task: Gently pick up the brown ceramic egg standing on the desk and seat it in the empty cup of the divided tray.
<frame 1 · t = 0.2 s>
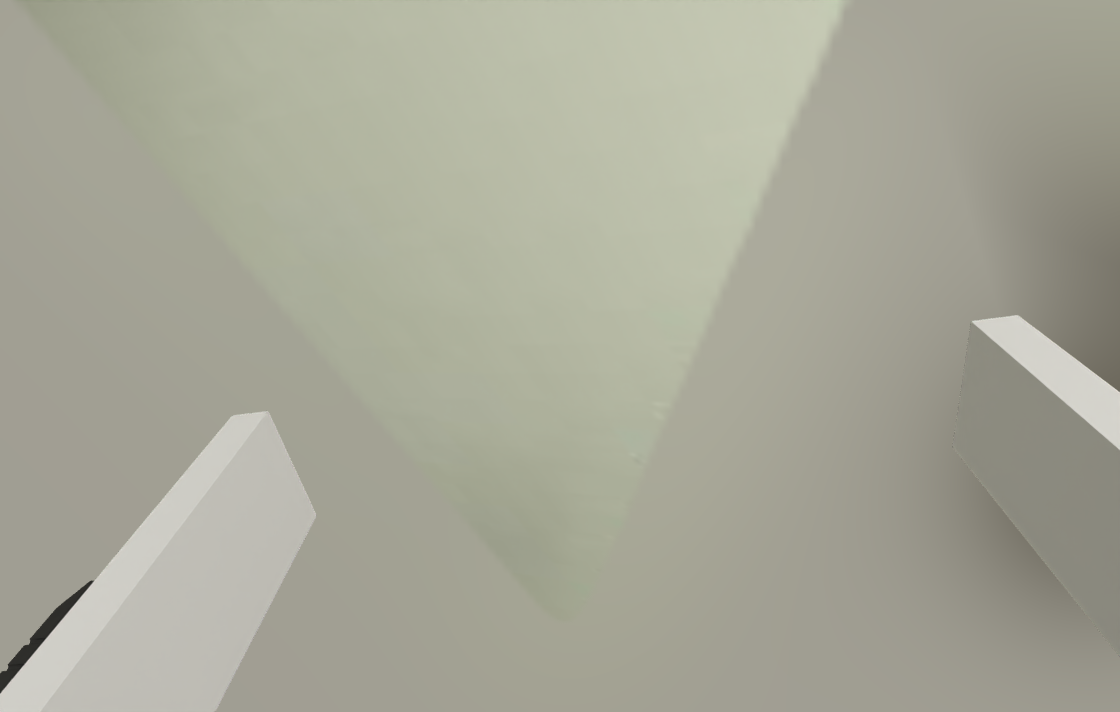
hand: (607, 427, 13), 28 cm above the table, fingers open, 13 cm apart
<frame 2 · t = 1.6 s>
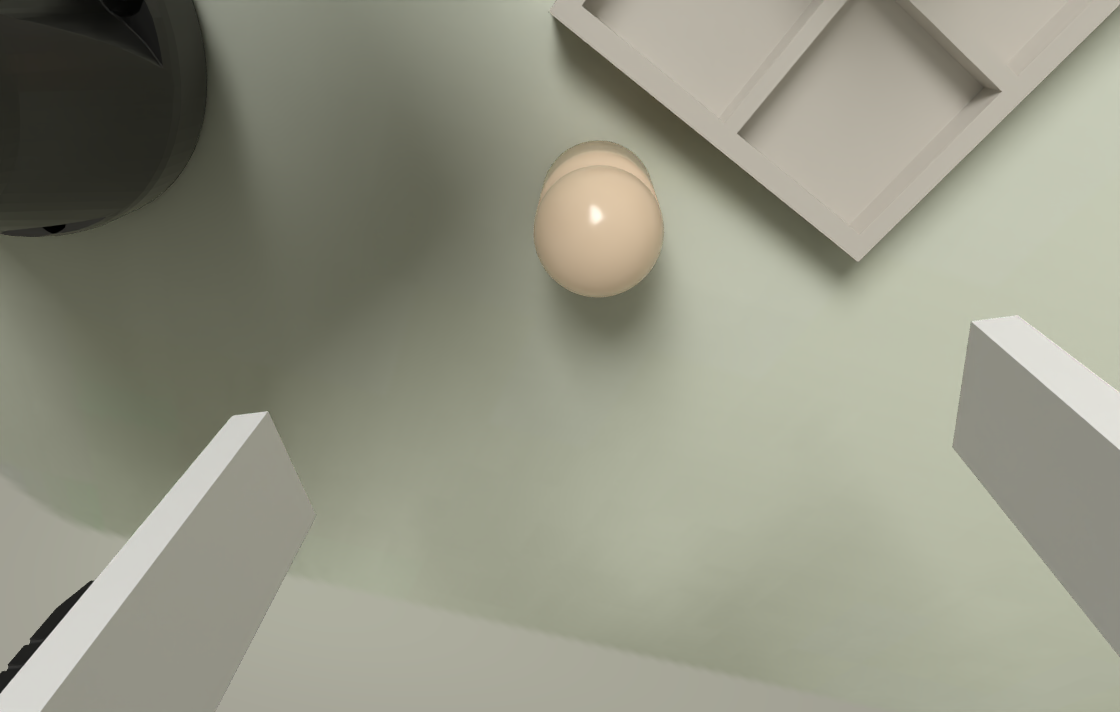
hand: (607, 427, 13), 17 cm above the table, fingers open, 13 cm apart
egg: (597, 197, 27), on the table
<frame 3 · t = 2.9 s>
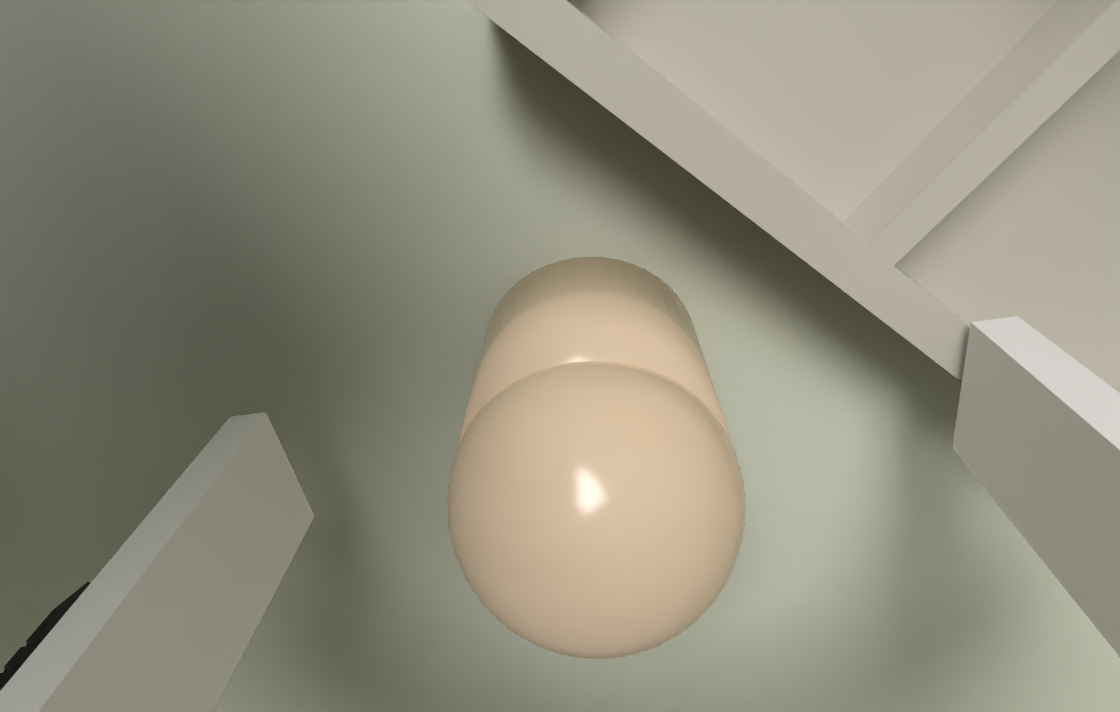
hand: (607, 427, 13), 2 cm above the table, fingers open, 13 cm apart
egg: (590, 356, 14), on the table
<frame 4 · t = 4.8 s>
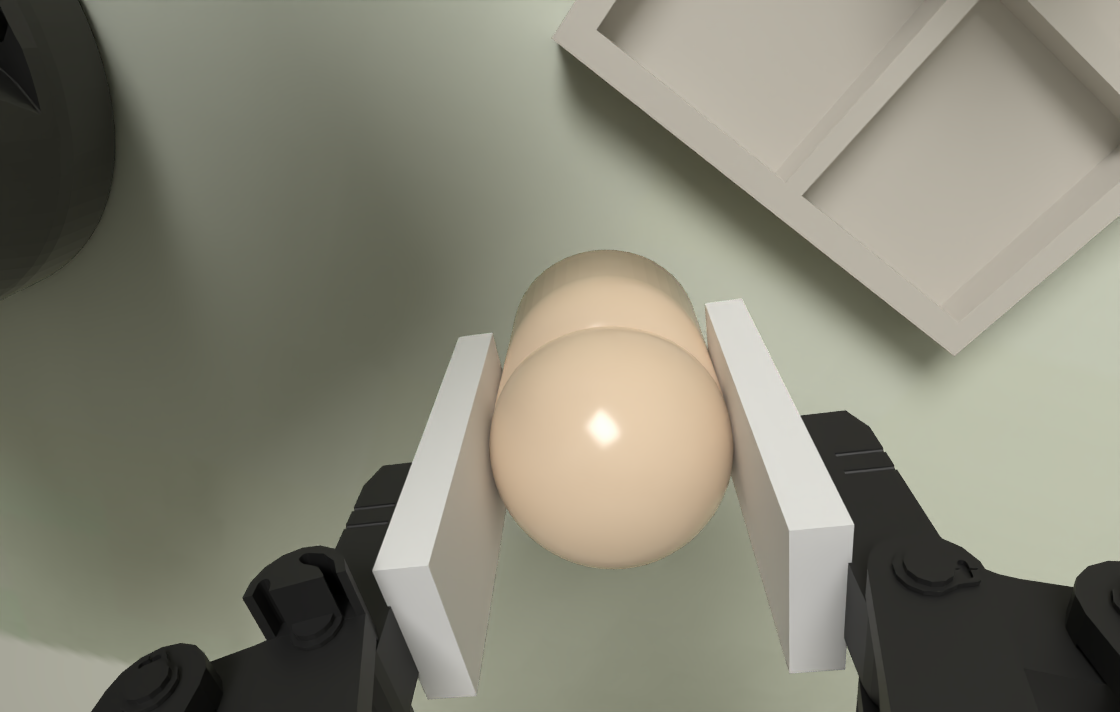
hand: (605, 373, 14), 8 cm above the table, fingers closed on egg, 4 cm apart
egg: (604, 337, 16), point 5 cm above the table, touching gripper
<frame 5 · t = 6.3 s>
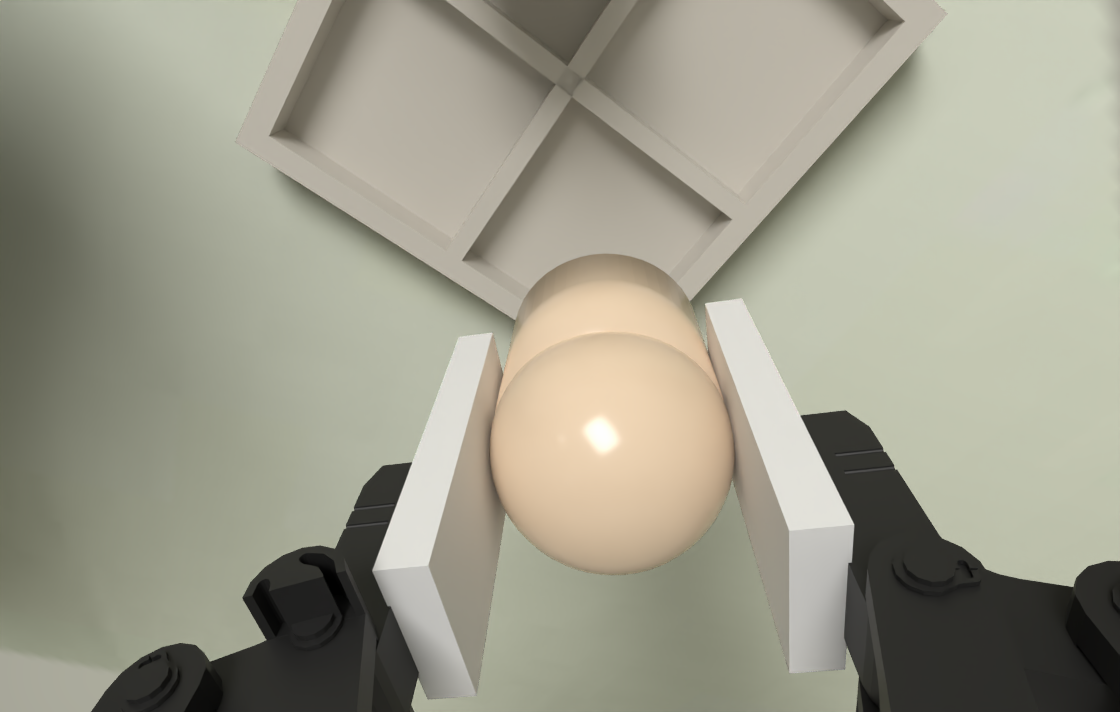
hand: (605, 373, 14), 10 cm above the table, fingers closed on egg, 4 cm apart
egg: (604, 340, 16), point 8 cm above the table, touching gripper
divided tray: (570, 74, 21), on the table
when the fingers open (3 cm above the table, at t = 7.8 s): egg stays where it is, resting on divided tray.
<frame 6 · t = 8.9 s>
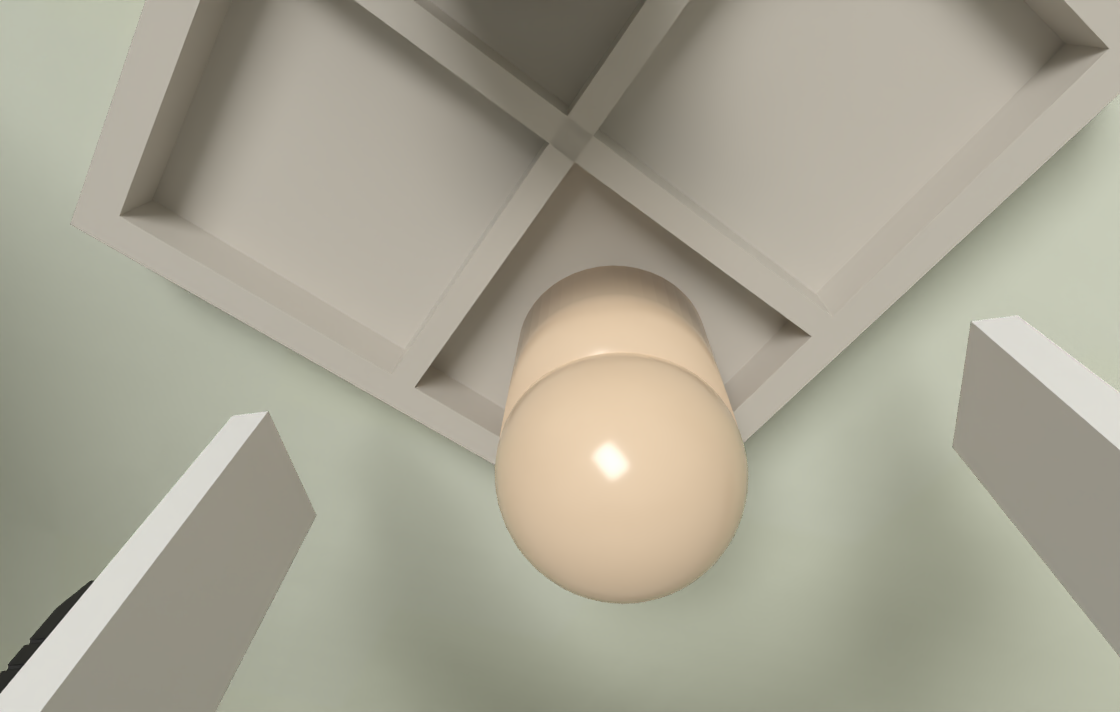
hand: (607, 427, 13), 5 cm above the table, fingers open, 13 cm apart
egg: (611, 353, 16), point 1 cm above the table, touching divided tray
divided tray: (573, 121, 14), on the table
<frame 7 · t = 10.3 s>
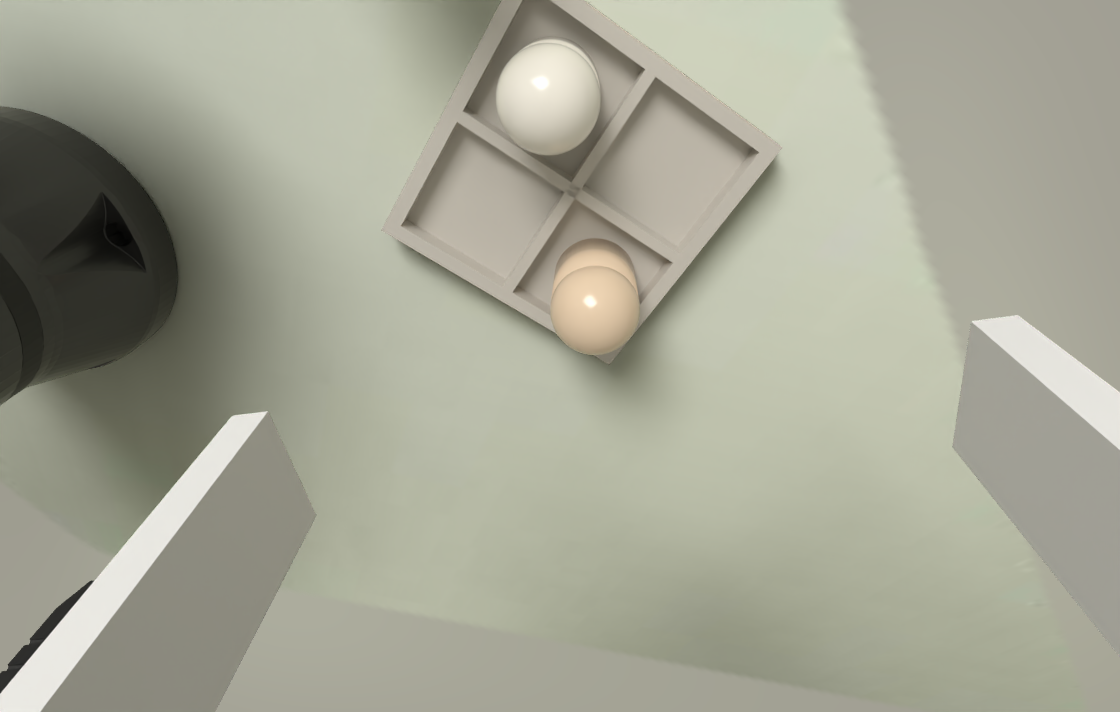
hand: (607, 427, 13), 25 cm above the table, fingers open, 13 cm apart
egg: (594, 276, 37), point 1 cm above the table, touching divided tray
resting egg: (553, 87, 33), point 1 cm above the table, touching divided tray
divided tray: (573, 180, 36), on the table
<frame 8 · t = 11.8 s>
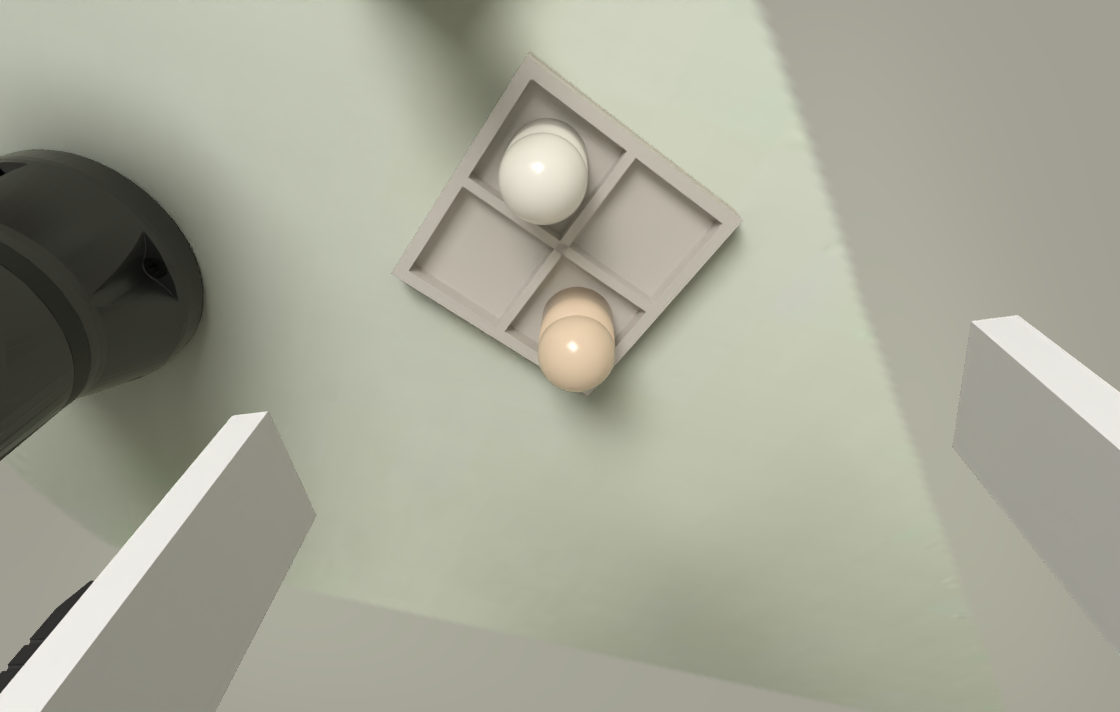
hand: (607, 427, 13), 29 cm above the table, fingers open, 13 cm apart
egg: (577, 319, 42), point 1 cm above the table, touching divided tray
resting egg: (547, 159, 38), point 1 cm above the table, touching divided tray
divided tray: (562, 236, 41), on the table
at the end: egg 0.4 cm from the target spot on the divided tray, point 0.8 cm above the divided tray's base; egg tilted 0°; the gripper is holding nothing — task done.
